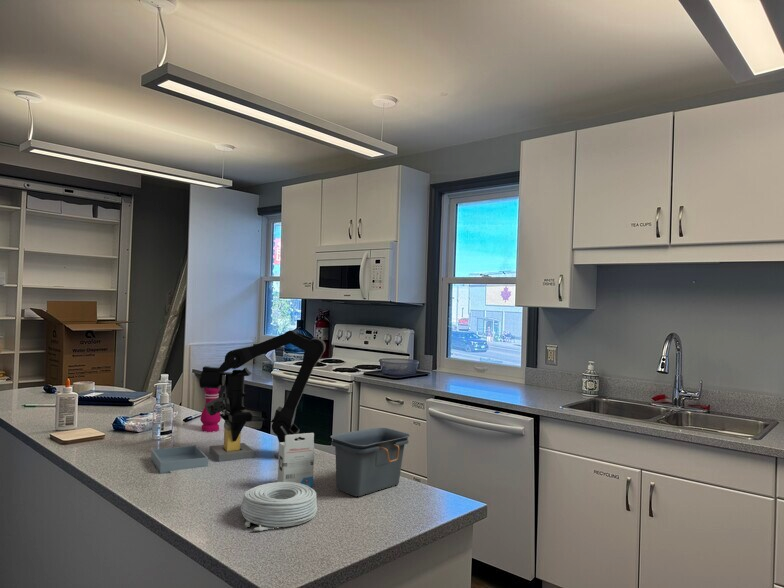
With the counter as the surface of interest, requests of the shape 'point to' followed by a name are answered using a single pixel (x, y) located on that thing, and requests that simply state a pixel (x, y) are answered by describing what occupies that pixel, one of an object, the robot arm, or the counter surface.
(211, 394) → the pepper mill
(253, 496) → the cable
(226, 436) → the block
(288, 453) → the ink box
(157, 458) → the parts tray
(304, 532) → the counter surface
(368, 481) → the storage bin
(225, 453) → the grey square socket tray
